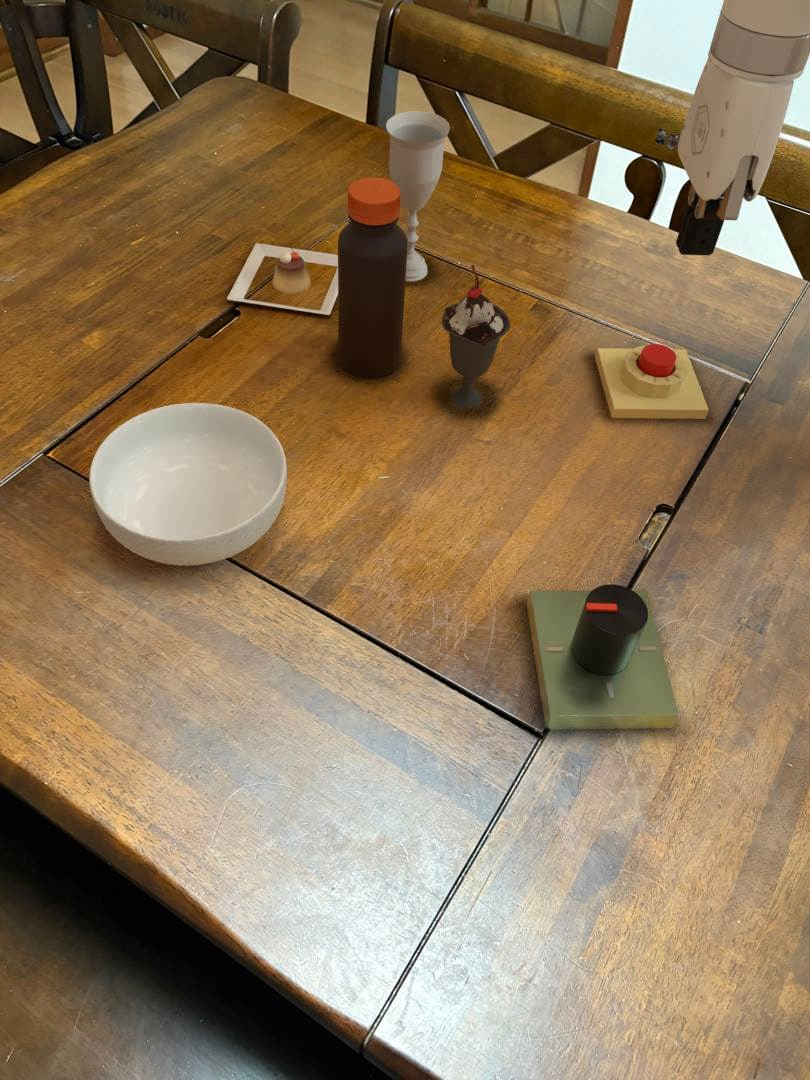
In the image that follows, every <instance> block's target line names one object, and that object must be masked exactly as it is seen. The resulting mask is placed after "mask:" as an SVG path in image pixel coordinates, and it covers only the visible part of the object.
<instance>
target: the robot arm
mask: <svg viewBox="0 0 810 1080" xmlns="http://www.w3.org/2000/svg"><path fill="white" fill-rule="evenodd" d="M809 58H810V0H723V2H722V5H721V9H720V12H719V15H718V19H717V22H716V25H715V28H714V32H713V36H712V39H711V43H710V47H709V50H708V53H707V59H706V62H705V64H704V66H703V69H702V72H701V73H700V77H699V79H698V81H697V85H696V88H695V90H694V93H693V96H692V99H691V102H690V105H689V108H688V111H687V114H686V117H685V120H684V123H683V126H682V130H681V132H680V136H679V139H678V143H677V153H678V157H679V159H680V162H681V164H682V166H683V169H684V170H685V173H686V175H687V177H688V179H689V181H690V183H691V185H690V188H689V192H688V197H687V203H688V206H686V208H685V212H684V215H683V218H682V222H681V224H680V228H679V231H678V234H677V237H676V240H675V245H676V247H677V248H678V252H679V254H680V255H682V256H711V255H712V254H714V252H715V250H716V245H717V243H718V240H719V237H720V234H721V231H722V230H723V225H724V223H725V221H737V220H738V219H739V216H740V211H741V209H742V208H741V207H742V203H743V200H744V201H746V202H749V203H750V202H752V201H753V200H755V199H756V197H757V196H758V194H759V193H760V191H761V189H762V186H763V184H764V182H765V179H766V177H767V174H768V172H769V169H770V165H771V163H772V160H773V158H774V155H775V151H776V148H777V145H778V142H779V138H780V135H781V132H782V129H783V125H784V122H785V118H786V115H787V112H788V111H787V110H788V108H789V103H790V99H791V96H792V92H793V88H794V84H795V80H797V79H798V78H800V77H801V76H802V75H803V74H804V70H805V68H806V65H807V63H808V60H809Z"/></svg>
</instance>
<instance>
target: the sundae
mask: <svg viewBox="0 0 810 1080" xmlns="http://www.w3.org/2000/svg"><path fill="white" fill-rule="evenodd" d="M470 269H471V270H472V272H473V273H474V275H475V281H474V286H472V287H470V288H469V289H468V290H467V295H466V296H465V297H463V298H462V299H461V300H460V301H459V302H458V303H453V304H451V305H449V306H447V307H445V309H444V311H443V313H442V316H441V317H442V318H441V326H442V328H443V330H444V331H446V332H447V333H448V336H449V355H450V361H451V363H450V364H451V367H452V369H453V370H454V371H455V372H456V373H457V374H459V376H461V377H462V383H461V386H458V387H456V388H454V389H453V390H452V391H451V392H450V395H449V399H450V401H451V402H452V403H453V404H455V406H458V407H461V408H463V409H464V408H465V409H471V408H476V407H478V406H479V405H480V404H481V403H482V402H483V400H484V399H483V398H484V397H483V393H482V392H480V391H479V390H478V389H476V388H475V379H477V378H479V377H481V376H483V375H484V374H486V373H487V372H489V370H490V367H491V365H492V363H493V361H494V358H495V355H496V352H497V348H498V345H499V342H500V340H501V338H503V337H504V336H505V335H506V334H507V333H508V332H509V331H510V329H511V326H512V324H511V321H510V319H509V317H508V315H507V313H506V312H505V311H504V310H503V309H502V307H500V306H498V305H495V304H494V303H492V302H491V300H490V299H489V298H488V297H487V296H485V295H483V290H482V288H481V287H480V280H479V276H478V274H477V273H476V271H475V269H476V266H475V265H474V264H472V265H471V266H470Z"/></svg>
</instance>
